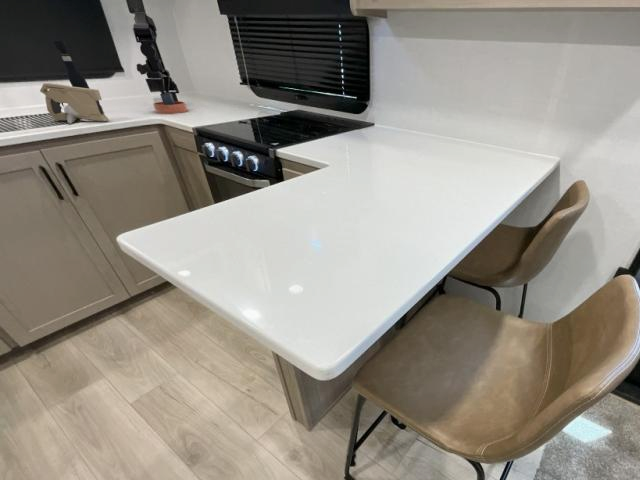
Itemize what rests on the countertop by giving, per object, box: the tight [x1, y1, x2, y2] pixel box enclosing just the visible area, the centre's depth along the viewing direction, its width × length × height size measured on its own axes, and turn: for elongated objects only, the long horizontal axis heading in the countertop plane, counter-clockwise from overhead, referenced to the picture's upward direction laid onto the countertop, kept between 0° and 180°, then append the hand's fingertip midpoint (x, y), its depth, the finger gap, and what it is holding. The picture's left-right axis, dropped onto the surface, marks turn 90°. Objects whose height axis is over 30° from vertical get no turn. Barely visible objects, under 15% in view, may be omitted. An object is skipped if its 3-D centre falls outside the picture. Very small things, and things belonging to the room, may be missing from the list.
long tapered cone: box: [63, 104, 79, 125], centre depth 155 cm, size 6×6×19 cm
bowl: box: [152, 100, 188, 115], centre depth 179 cm, size 15×15×4 cm
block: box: [159, 92, 175, 105], centre depth 178 cm, size 4×4×8 cm
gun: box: [39, 82, 110, 123], centre depth 151 cm, size 24×3×15 cm, turn 92°
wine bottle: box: [52, 40, 91, 89], centre depth 163 cm, size 6×6×30 cm
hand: (165, 93), depth 175 cm, fingers open, 9 cm apart
